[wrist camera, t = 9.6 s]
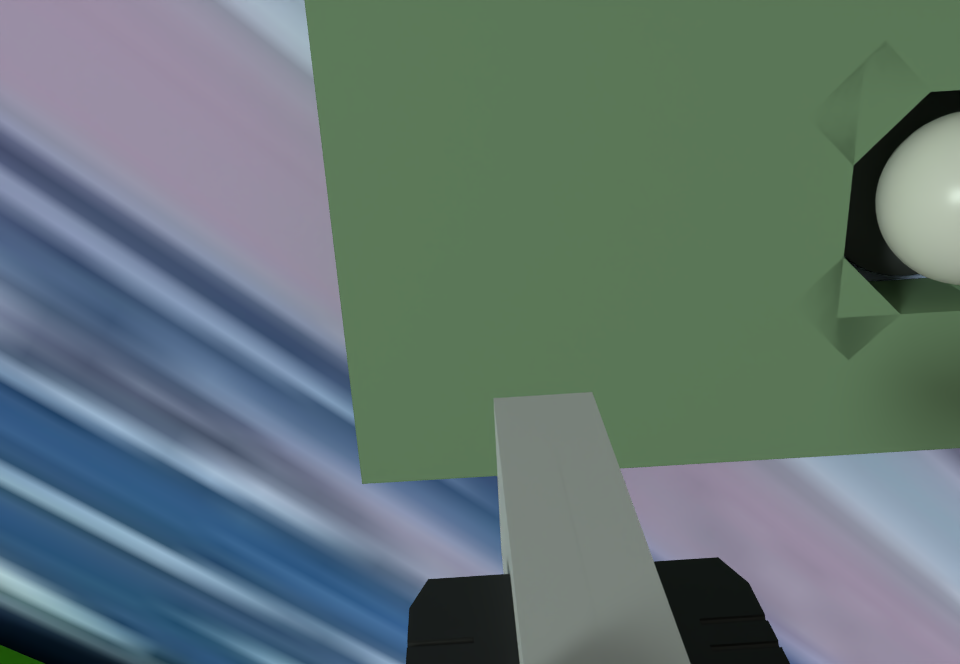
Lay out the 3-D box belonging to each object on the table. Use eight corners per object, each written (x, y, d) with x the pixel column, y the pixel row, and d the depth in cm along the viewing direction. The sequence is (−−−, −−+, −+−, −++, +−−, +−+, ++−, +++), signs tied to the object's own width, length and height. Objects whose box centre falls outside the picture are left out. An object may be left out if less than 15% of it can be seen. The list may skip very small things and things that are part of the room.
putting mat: (1050, 397, 31) (1109, 438, 28) (370, 438, 31) (362, 483, 28) (1157, -108, 25) (1246, -118, 22) (314, -61, 25) (296, -65, 22)
